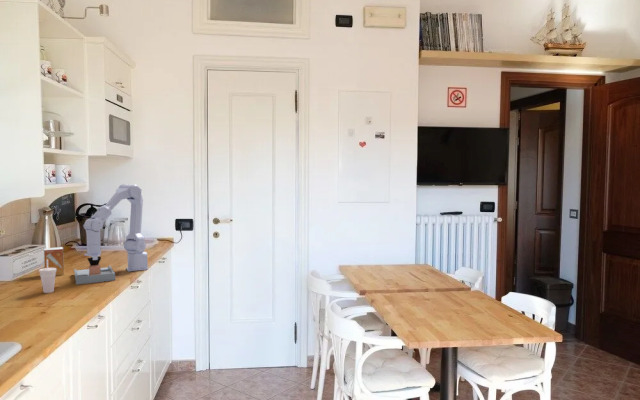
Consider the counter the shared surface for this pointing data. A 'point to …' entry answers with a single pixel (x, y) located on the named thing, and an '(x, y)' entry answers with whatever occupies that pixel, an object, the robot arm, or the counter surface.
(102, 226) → the robot arm
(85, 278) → the trap board
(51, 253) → the small box
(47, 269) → the smoothie
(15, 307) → the counter surface
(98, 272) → the block
